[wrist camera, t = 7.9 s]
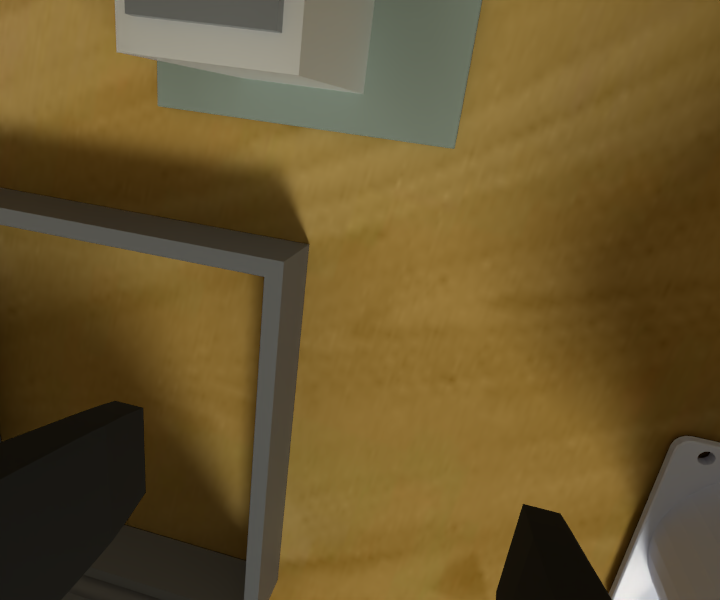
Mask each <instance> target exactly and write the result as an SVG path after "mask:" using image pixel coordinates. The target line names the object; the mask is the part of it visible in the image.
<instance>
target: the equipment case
mask: <svg viewBox="0 0 720 600" xmlns="http://www.w3.org/2000/svg"><path fill="white" fill-rule="evenodd" d="M0 225H5V226H10V227H15V228H20V229H25V230H30V231H35V232H41V233H46V234H51V235H56V236H61V237H66V238H71V239H76V240H81V241H86V242H91V243H96V244H101V245H106V246H111V247H116V248H122V249H127V250H132V251H137V252H142V253H147V254H152V255H157V256H162V257H167V258H172V259H177V260H182V261H187V262H192V263H197V264H202V265H208V266H213V267H218V268H223V269H228V270H233V271H238V272H243V273H248V274H253V275H258V276H263V277H264V291H263V307H262V323H261V339H260V354H259V370H258V386H257V402H256V417H255V433H254V449H253V465H252V480H251V496H250V512H249V528H248V543H247V559H246V561H244V560H241V559H238V558H234V557H231V556H228V555H224V554H221V553H217V552H214V551H211V550H207V549H204V548H201V547H197V546H194V545H191V544H187V543H184V542H180V541H177V540H174V539H170V538H167V537H164V536H160V535H157V534H154V533H150V532H147V531H143V530H140V529H137V528H133V527H130V526H127V525H123V527H122V528H121V530H120V531H119V532H118V534H117V535H116V537H115V538H114V539H113V541H112V542H111V543H110V544H109V546H108V547H107V548H106V549H105V550H104V551H103V553H102V554H101V555H100V556H99V557H98V558H97V560H96V561H95V562H94V563H93V564H92V565H91V567H90V568H89V569H88V570H87V571H86V572H85V573H84V575H83V576H82V577H81V578H80V579H79V580H78V582H77V583H76V584H75V585H74V586H73V587H72V588H71V589H70V591H69V592H68V593H67V594H66V595H65V596H64V597H63V599H62V600H269V598H270V596H271V594H272V591H273V589H274V587H275V585H276V582H277V580H278V569H279V559H280V548H281V538H282V527H283V516H284V506H285V495H286V484H287V474H288V463H289V453H290V442H291V431H292V421H293V410H294V400H295V389H296V378H297V368H298V357H299V347H300V336H301V325H302V315H303V304H304V293H305V283H306V272H307V262H308V251H309V244H304V243H299V242H293V241H288V240H282V239H277V238H272V237H266V236H261V235H255V234H250V233H244V232H239V231H233V230H228V229H223V228H217V227H212V226H206V225H201V224H195V223H190V222H184V221H179V220H174V219H168V218H163V217H157V216H152V215H146V214H141V213H135V212H130V211H125V210H119V209H114V208H108V207H103V206H97V205H92V204H86V203H81V202H76V201H70V200H65V199H59V198H54V197H48V196H43V195H37V194H32V193H27V192H21V191H16V190H10V189H5V188H0ZM0 443H1V437H0Z"/></svg>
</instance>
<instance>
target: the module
mask: <svg viewBox="0 0 720 600" xmlns="http://www.w3.org/2000/svg"><path fill="white" fill-rule="evenodd" d="M374 2H375V0H115V19H116V46H117V52H119V53H124V54H129V55H134V56H138V57H143V58H148V59H153V60H158V61H162V62H167V63H172V64H177V65H182V66H186V67H191V68H196V69H201V70H205V71H210V72H215V73H220V74H225V75H229V76H234V77H239V78H245V79H252V80H260V81H267V82H275V83H283V84H290V85H298V86H305V87H313V88H320V89H328V90H335V91H343V92H350V93H358V94H363V93H364V84H365V76H366V68H367V60H368V52H369V43H370V35H371V27H372V19H373V10H374Z"/></svg>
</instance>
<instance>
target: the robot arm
mask: <svg viewBox="0 0 720 600" xmlns="http://www.w3.org/2000/svg"><path fill="white" fill-rule="evenodd" d="M703 452H710V454H709V455H708V456H707V457H704V458H698V456H699V454H700V453H703ZM145 493H146V489H145V454H144V420H143V408H142V407H138V406H134V405H130V404H126V403H122V402H118V401H113V402H110V403H107V404H103V405H100V406H97V407H94V408H91V409H89V410H86V411H83V412H80V413H78V414H75V415H72V416H70V417H67V418H64V419H62V420H59V421H56V422H54V423H51V424H48V425H46V426H43V427H41V428H38V429H35V430H33V431H30V432H27V433H25V434H22V435H19V436H17V437H14V438H11V439H9V440H6V441H4V442H1V443H0V600H62V599H63V597H64V596H65V595H66V594H67V593H68V592H69V591H70V589H71V588H72V587H73V586H74V585H75V584H76V583H77V582H78V580H79V579H80V578H81V577H82V576H83V575H84V573H85V572H86V571H87V570H88V569H89V568H90V567H91V565H92V564H93V563H94V562H95V561H96V560H97V558H98V557H99V556H100V555H101V554H102V553H103V551H104V550H105V549H106V548H107V547H108V546H109V544H110V543H111V542H112V541H113V539H114V538H115V537H116V535H117V534H118V532H119V531H120V530H121V528H122V527H123V525H124V524H125V523H126V521H127V520H128V518H129V517H130V515H131V514H132V512H133V511H134V509H135V508H136V506H137V505H138V503H139V502H140V500H141V499H142V497H143V496H144V494H145ZM496 600H720V442H715V441H711V440H706V439H702V438H697V437H693V436H682V437H679V438H677V439H675V440H674V441H673V442H672V444H671V445H670V447H669V450H668V452H667V455H666V457H665V459H664V462H663V464H662V467H661V469H660V471H659V474H658V476H657V479H656V481H655V484H654V486H653V488H652V491H651V493H650V496H649V498H648V500H647V503H646V505H645V508H644V510H643V512H642V515H641V517H640V520H639V522H638V524H637V527H636V529H635V532H634V534H633V537H632V539H631V541H630V544H629V546H628V549H627V551H626V553H625V556H624V558H623V561H622V563H621V565H620V568H619V570H618V573H617V575H616V577H615V580H614V582H613V585H612V587H611V589H610V592H609V594H608V592H607V591H606V589H605V587H604V586H603V584H602V582H601V581H600V579H599V577H598V576H597V574H596V572H595V571H594V569H593V567H592V566H591V564H590V562H589V561H588V559H587V557H586V556H585V554H584V552H583V550H582V549H581V547H580V545H579V544H578V542H577V540H576V539H575V537H574V535H573V533H572V532H571V530H570V528H569V527H568V525H567V523H566V522H565V520H564V519H563V517H562V515H561V514H560V513H556V512H553V511H549V510H545V509H541V508H537V507H533V506H529V505H525V504H523V506H522V509H521V513H520V516H519V519H518V523H517V526H516V529H515V532H514V536H513V539H512V542H511V545H510V549H509V552H508V555H507V558H506V562H505V565H504V568H503V572H502V575H501V578H500V581H499V585H498V588H497V591H496Z"/></svg>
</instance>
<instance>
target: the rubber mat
mask: <svg viewBox="0 0 720 600" xmlns="http://www.w3.org/2000/svg"><path fill="white" fill-rule="evenodd" d="M481 4H482V0H375V2H374V10H373V19H372V27H371V35H370V43H369V52H368V60H367V68H366V76H365V84H364V93H363V94H358V93H350V92H343V91H335V90H328V89H320V88H313V87H305V86H298V85H290V84H283V83H275V82H267V81H260V80H252V79H245V78H239V77H234V76H229V75H225V74H220V73H215V72H210V71H205V70H201V69H196V68H191V67H186V66H182V65H177V64H172V63H167V62H162V61H158V60H157V80H158V106H161V107H168V108H175V109H182V110H189V111H196V112H203V113H210V114H217V115H224V116H231V117H238V118H244V119H251V120H258V121H265V122H272V123H279V124H286V125H293V126H300V127H307V128H314V129H321V130H328V131H335V132H341V133H348V134H355V135H362V136H369V137H376V138H383V139H390V140H397V141H404V142H411V143H418V144H425V145H432V146H438V147H445V148H452V149H454V148H455V143H456V138H457V133H458V127H459V122H460V117H461V111H462V106H463V101H464V95H465V90H466V84H467V79H468V74H469V68H470V63H471V58H472V52H473V47H474V42H475V36H476V31H477V25H478V20H479V15H480V9H481Z"/></svg>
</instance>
